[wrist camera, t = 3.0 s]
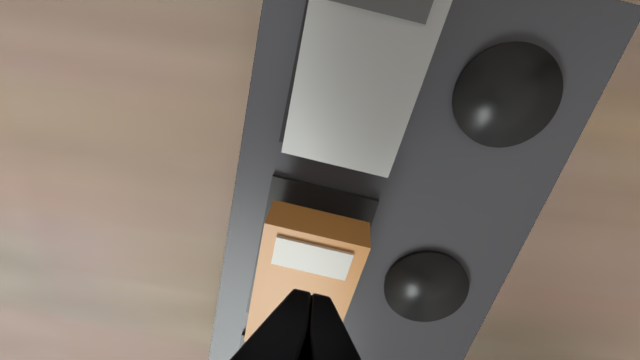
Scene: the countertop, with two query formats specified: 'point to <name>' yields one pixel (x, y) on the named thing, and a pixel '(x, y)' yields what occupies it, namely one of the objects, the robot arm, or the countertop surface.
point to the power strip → (430, 168)
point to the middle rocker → (307, 258)
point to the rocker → (360, 79)
